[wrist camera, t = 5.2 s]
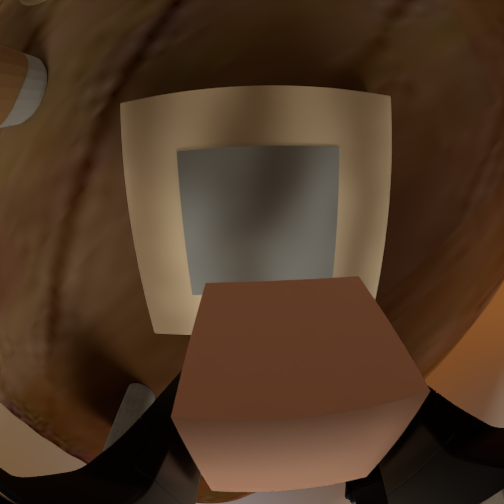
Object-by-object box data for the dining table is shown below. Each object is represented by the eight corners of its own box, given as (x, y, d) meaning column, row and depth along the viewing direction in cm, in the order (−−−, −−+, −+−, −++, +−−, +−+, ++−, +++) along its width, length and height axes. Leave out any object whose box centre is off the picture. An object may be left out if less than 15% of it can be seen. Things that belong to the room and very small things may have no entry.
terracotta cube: (358, 276, 9) (430, 391, 4) (338, 377, 11) (366, 476, 6) (205, 282, 9) (170, 416, 4) (221, 384, 11) (212, 490, 6)
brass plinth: (371, 101, 16) (391, 95, 13) (357, 305, 22) (369, 328, 19) (139, 108, 16) (118, 103, 13) (165, 311, 22) (154, 334, 19)
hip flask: (129, 379, 26) (72, 536, 7) (164, 392, 26) (122, 556, 8) (122, 433, 31) (90, 539, 13) (147, 443, 32) (121, 551, 13)
